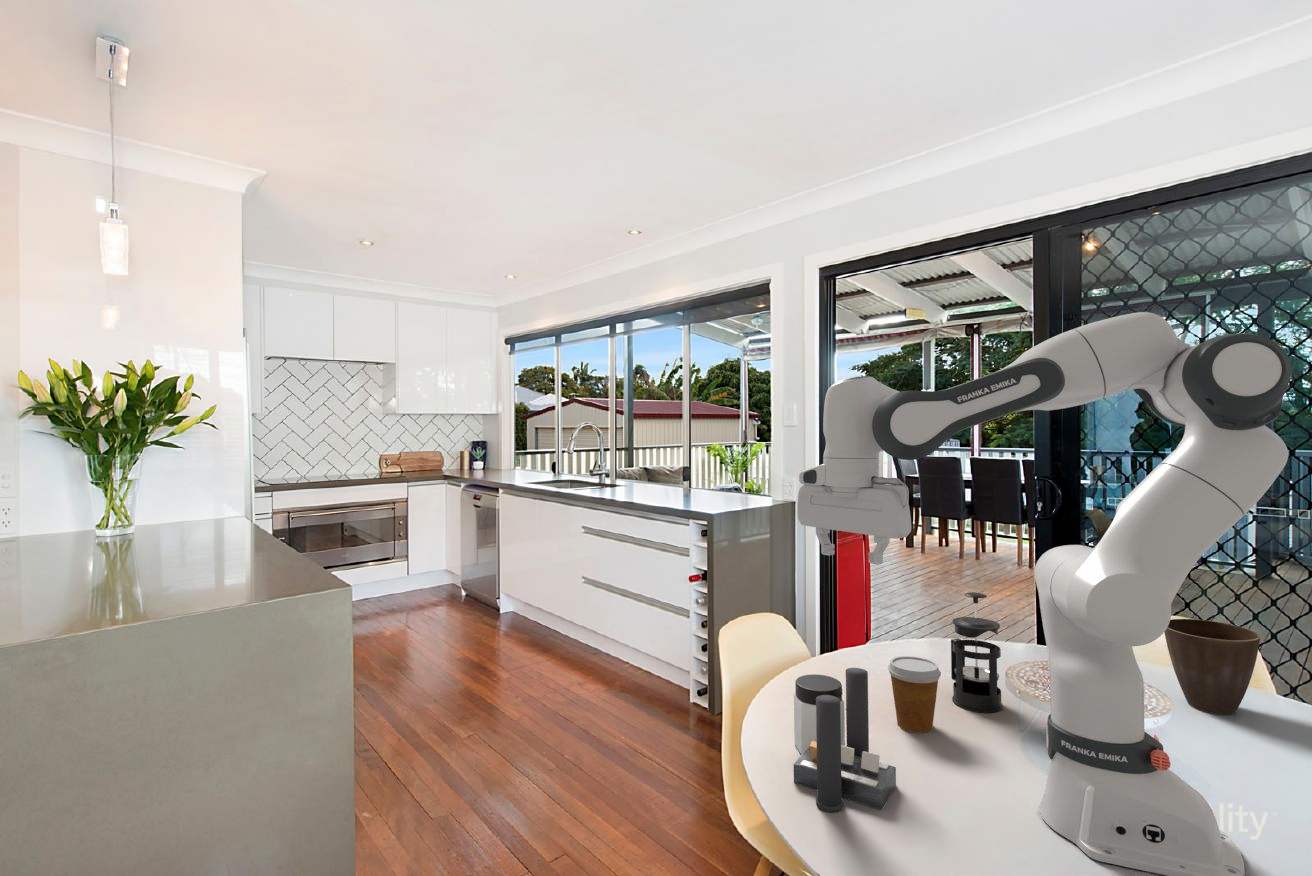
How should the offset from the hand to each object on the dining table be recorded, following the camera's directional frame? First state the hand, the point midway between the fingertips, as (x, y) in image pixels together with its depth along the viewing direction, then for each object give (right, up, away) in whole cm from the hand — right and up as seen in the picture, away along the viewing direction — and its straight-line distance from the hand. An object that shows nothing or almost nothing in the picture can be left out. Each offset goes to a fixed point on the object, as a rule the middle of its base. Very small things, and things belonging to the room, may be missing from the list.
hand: (850, 559), depth 105 cm
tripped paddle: (-5, -33, 0) cm, 33 cm away
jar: (-3, -36, +9) cm, 37 cm away
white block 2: (+1, -33, -5) cm, 33 cm away
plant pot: (+81, -35, +24) cm, 91 cm away
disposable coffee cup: (+18, -36, +18) cm, 44 cm away
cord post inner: (+2, -36, +3) cm, 36 cm away
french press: (+35, -36, +28) cm, 57 cm away
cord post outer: (-6, -36, -8) cm, 37 cm away
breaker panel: (-2, -36, -3) cm, 36 cm away
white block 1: (-2, -33, -3) cm, 33 cm away
